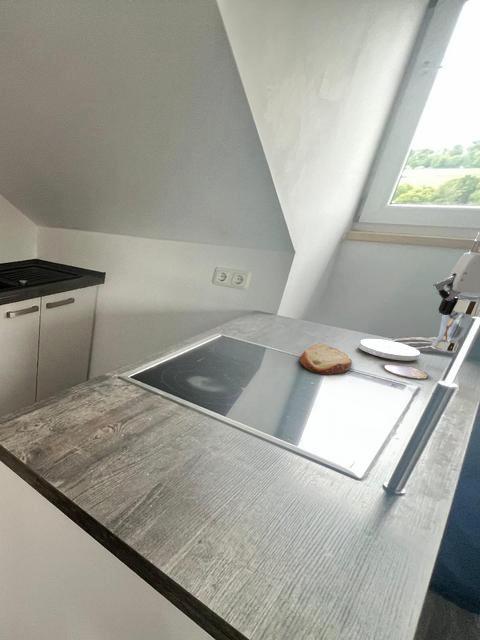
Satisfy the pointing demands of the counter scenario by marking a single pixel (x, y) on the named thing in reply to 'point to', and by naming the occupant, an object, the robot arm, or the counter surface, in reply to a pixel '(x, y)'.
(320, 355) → the bread slice
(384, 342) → the plastic lid
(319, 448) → the counter surface
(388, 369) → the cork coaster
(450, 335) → the beer glass
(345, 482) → the counter surface
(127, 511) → the counter surface
